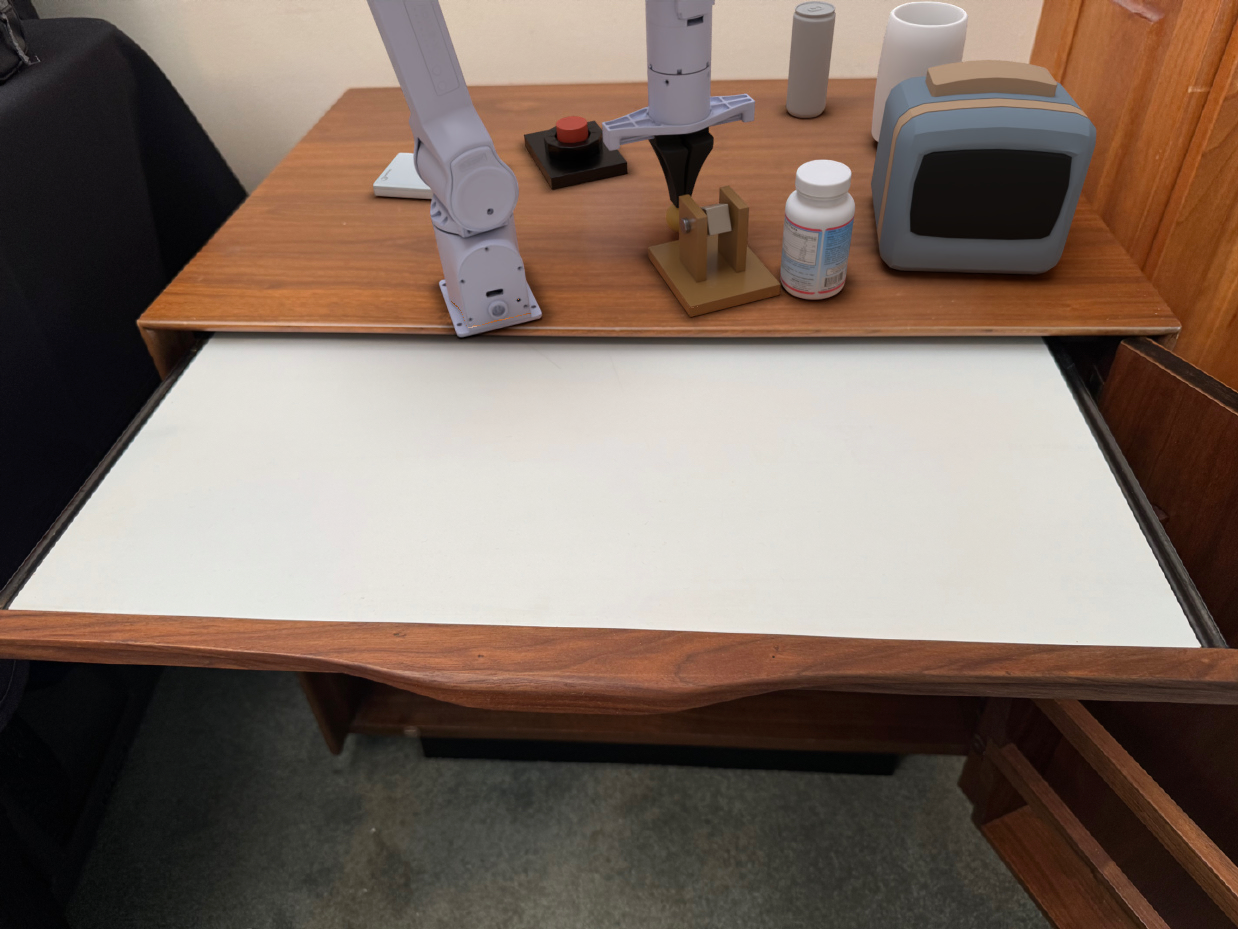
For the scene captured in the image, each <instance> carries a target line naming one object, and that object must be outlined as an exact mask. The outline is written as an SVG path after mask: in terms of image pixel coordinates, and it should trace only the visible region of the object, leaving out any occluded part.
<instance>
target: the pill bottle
mask: <svg viewBox="0 0 1238 929" xmlns="http://www.w3.org/2000/svg"><path fill="white" fill-rule="evenodd" d="M851 170H852V169H850V167H849V166H848V165H846V164H844V163H843V162H840V161H836V160H831V159H814V160H810V161H807V162H804V163H803V164H801V165H800V166H798V168H797V170H796V173H795V181H794V185H795V189H794V190H793V191H792V192H791V193H790V194H789V196H788V198H787V200H786V202H785V208H784V219H783V232H782V244H781V245H782V247H781V260H780V270H779V271H780V272H779V273H780V274H779V280H780V284H781V286H782V287H783V288H784V289H785V290H786V292H788V294H790V295H792V296H794V297H796V298H800V299H803V300H804V299H805V300H823V299H828V298H830V297H833V296H835V295H837V294H838V293H840V291H842V290H843V288H844V286H845V284H846V278H847V271H848V264H849V256H850V249H851V242H852V235H853V229H854V220H855V214H856V203H855V200H854V198H853V196H852V194H850V192H849V191H850V188H851V183H852V171H851Z"/></svg>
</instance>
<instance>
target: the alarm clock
mask: <svg viewBox="0 0 1238 929" xmlns="http://www.w3.org/2000/svg"><path fill="white" fill-rule="evenodd" d="M1096 143H1097V128H1096V126H1095V125H1094V123H1093V122H1092V121H1091V119H1090V118H1089V117H1088V115H1087V114H1086V113H1085V112H1084V110H1083V109H1082V107H1080V106H1079V105H1078V103H1077V102H1076V101H1075V100H1074V98H1073V97H1072V96H1071V95H1070V94H1069V92H1068V91H1067V90H1066V88H1065V87H1064V86H1063V85H1062V84H1061V83H1060V82H1058V81H1056V79H1055V78H1054V77H1053V76H1052V74H1051V73H1050V71H1049V70H1048V69H1047V68H1046V67H1044V66H1040V65H1039V66H1038V65H1035V64H1030V63H1026V62H1021V61H1020V62H1019V61H1013V60H1012V61H1011V60H1001V59H999V60H997V59H980V60H966V61H965V60H964V61H962V62H957V63H950V64H945V65H940V66H935V67H931V68H928V69H927V75H926V76H922V77H913V78H909V79H907V80H904V81H901V82H900V83H899V84H897V85H896V86H895V87H894V88H892V89H891V91H890V94H889V96H888V98H887V100H886V103H885V108H884V114H883V119H882V125H881V130H880V136H879V142H878V141H877V147H876V154H875V159H874V165H873V170H872V175H871V181H870V189H871V196H872V203H873V211H874V218H875V226H876V233H877V241H878V249H879V256H880V257H881V259H882V261H883V262H884V263H885V264H886V265H887V266H888V267H889V268H890V269H894V270H898V271H906V272H907V271H909V272H939V273H968V274H969V273H974V274H1005V275H1006V274H1007V275H1009V274H1010V275H1039V274H1043V273H1044V274H1045V273H1046V272H1048V271H1049V270H1051V269H1053V268H1054V267H1056V266H1057V264H1058V263H1059V262H1060V260H1061V258H1062V256H1063V252H1064V250H1065V246H1066V244H1067V240H1068V236H1069V233H1070V230H1071V226H1072V224H1073V220H1074V217H1075V213H1076V210H1077V206H1078V203H1079V200H1080V196H1081V194H1082V191H1083V188H1084V183H1085V180H1086V177H1087V174H1088V171H1089V167H1090V165H1091V162H1092V158H1093V154H1094V151H1095V148H1096Z"/></svg>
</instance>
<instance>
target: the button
mask: <svg viewBox="0 0 1238 929" xmlns="http://www.w3.org/2000/svg"><path fill="white" fill-rule="evenodd" d="M587 122H588V120H587V118H584V117H582V116H578V115H570V116H565V117H562V118H559V119H558V120H557V121H556V122H555V126H556V130H557V139H558V141H561V142H564V143H575V142H580V141H584V140H585V139H587V138H588V125H587Z"/></svg>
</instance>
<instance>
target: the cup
mask: <svg viewBox="0 0 1238 929" xmlns="http://www.w3.org/2000/svg"><path fill="white" fill-rule="evenodd" d="M968 23H969V15H968V13H967V11H966V10H964V9H963V8H962V7H959V6H957V5H955V4H951V3H948V2H941V1H929V0H928V1H925V0H924V1H923V0H922V1H921V0H920V1H912V2H911V1H909V2H906V3H903V4H899V5H898V6H896V7H895V8H893V9H892V10H891V11H890V13H889V14H888V19H887V24H886V26H885V28H886V29H885V32H884V35H883V41H882V45H881V51H880V55H879V61H878V67H877V68H878V69H877V75H876V82H875V90H874V98H873V106H872V116H871V118H872V119H871V131H870V133H871V136H872V138H873V139H874V140H875V141H876V142H877V143H878V142H879V136H880V130H881V125H882V119H883V114H884V108H885V103H886V100H887V98H888V96H889V94H890V91H891V89H892V88H894V87H895V86H896V85H897V84H899V83H900V82H901V81H904V80H907V79H909V78H913V77H922V76H926V75H927V69H928V68H931V67H935V66H940V65H945V64H950V63H957V62H963V56H964V51H965V46H966V40H967V31H968Z"/></svg>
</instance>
